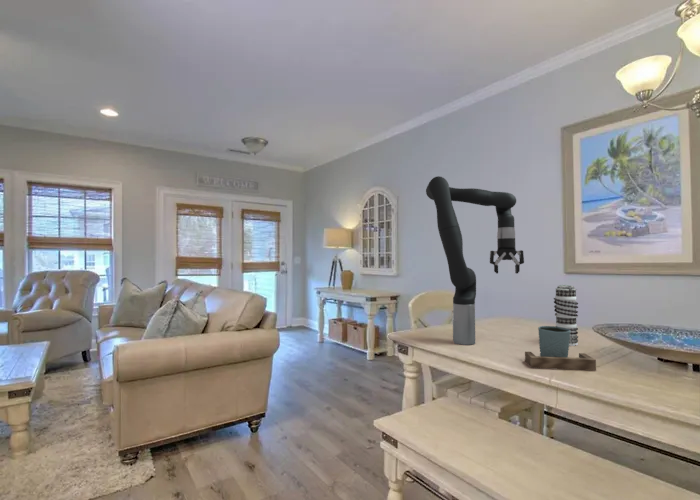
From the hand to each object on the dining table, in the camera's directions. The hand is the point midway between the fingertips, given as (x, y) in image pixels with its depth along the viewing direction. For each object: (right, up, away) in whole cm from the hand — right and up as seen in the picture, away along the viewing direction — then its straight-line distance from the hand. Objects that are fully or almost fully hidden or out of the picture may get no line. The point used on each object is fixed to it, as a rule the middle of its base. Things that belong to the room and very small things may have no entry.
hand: (506, 273), depth 168 cm
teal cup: (+3, -30, -35) cm, 46 cm away
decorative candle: (+22, -30, -8) cm, 38 cm away
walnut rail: (+2, -30, -39) cm, 49 cm away
